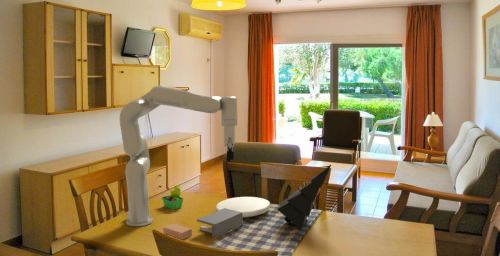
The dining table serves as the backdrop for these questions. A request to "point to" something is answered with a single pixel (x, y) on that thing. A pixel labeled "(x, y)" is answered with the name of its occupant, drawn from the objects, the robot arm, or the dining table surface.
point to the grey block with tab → (221, 222)
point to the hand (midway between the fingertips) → (230, 157)
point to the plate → (245, 205)
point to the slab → (177, 231)
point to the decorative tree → (302, 200)
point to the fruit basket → (173, 199)
